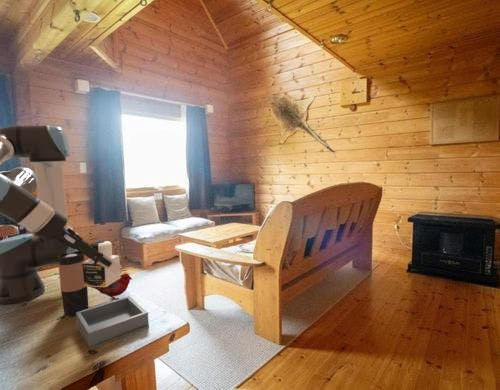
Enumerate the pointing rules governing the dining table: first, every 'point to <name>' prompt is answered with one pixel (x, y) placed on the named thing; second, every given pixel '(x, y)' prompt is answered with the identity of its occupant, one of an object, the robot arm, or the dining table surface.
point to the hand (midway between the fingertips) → (113, 265)
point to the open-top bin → (111, 321)
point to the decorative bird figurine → (115, 287)
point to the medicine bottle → (100, 267)
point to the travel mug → (72, 283)
